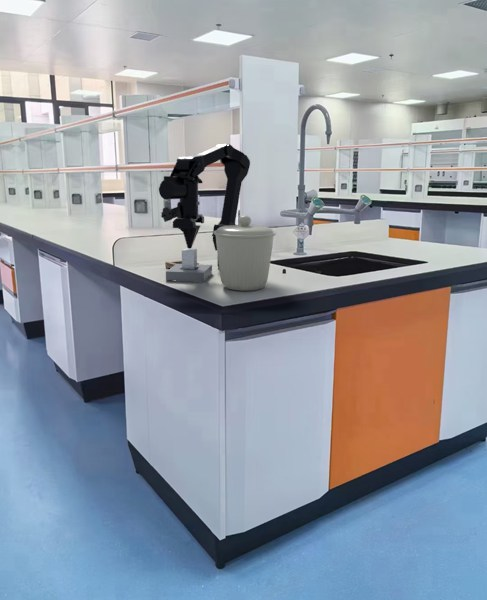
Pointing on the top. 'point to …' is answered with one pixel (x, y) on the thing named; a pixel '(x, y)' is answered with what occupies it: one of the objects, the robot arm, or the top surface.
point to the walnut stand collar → (173, 263)
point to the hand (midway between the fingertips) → (189, 248)
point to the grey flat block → (189, 273)
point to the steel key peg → (189, 259)
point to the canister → (244, 255)
